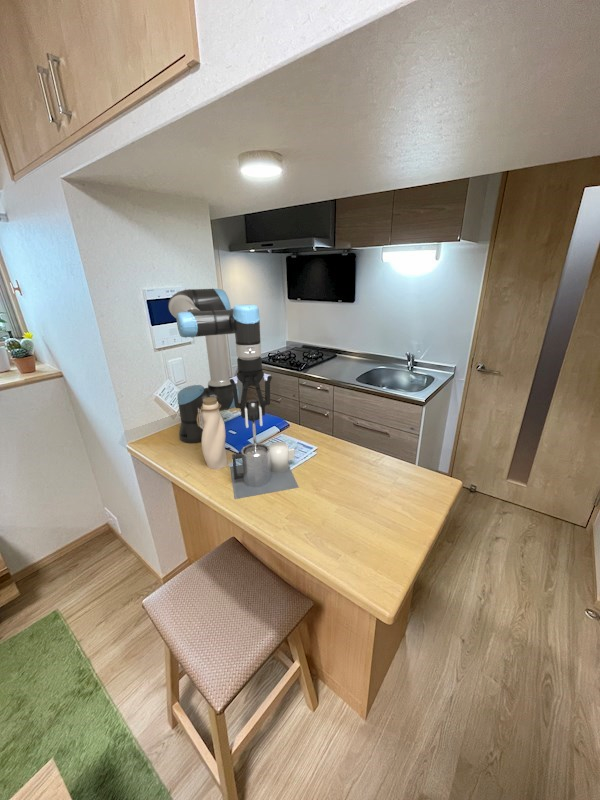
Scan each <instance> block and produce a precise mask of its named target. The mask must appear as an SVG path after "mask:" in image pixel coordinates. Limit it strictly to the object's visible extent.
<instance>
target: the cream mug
mask: <svg viewBox="0 0 600 800" xmlns="http://www.w3.org/2000/svg"><path fill="white" fill-rule="evenodd" d="M268 446H269V449H270V462H271V472H273V473H284V472H286V471H287V470H288V469H289V467H290V462H289V461H291V460H295V459H296V454H295V453H296V451H295V448H289V445H288V444H287V443H286V442H282V441H276V442H272V443H270V444H269V445H268Z"/></svg>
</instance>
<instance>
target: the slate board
mask: <svg viewBox="0 0 600 800" xmlns="http://www.w3.org/2000/svg"><path fill="white" fill-rule="evenodd" d="M229 468H230V469H229V470H230V477H231V483H232V484H231V485H232V491H233V499H234V500H238V499H243V498H244V499H245V498H250V497H256V496H260V495H266V494H272V493H277V492H282V491H287V490H292V489H298V488H300V487H299V485H298V482H297V480H296V477H295V476H294V474H293V471H292V469H291V467H290V466H289V469H288V470H287V471H286V472H284V473H273V472H271V480H270V482H269V483H268V484H266V485H265V486H262V487H249V486H248V485H246V484H245V483H244V478H240V479H236V480H235V479H234V471H233V465H232V466H229ZM236 469H237V474H240V473H243V465H242V464H240V465H239V464H238V465H236Z"/></svg>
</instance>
